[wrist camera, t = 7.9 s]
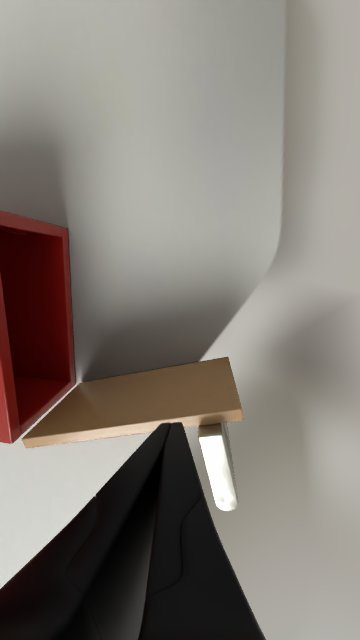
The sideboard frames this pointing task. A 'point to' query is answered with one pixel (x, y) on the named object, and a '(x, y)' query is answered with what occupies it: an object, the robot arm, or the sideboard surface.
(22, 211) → the sideboard surface
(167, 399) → the valve door
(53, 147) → the sideboard surface
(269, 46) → the sideboard surface
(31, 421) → the cabinet
